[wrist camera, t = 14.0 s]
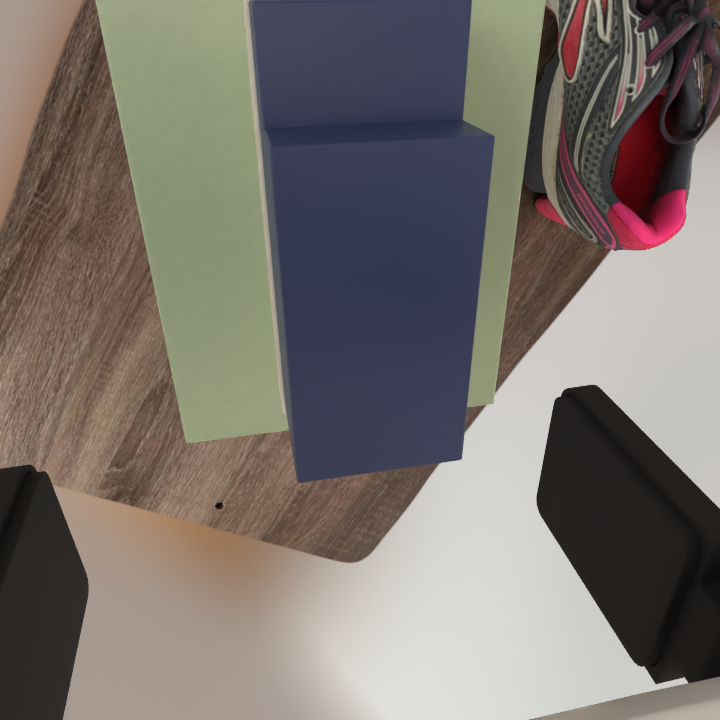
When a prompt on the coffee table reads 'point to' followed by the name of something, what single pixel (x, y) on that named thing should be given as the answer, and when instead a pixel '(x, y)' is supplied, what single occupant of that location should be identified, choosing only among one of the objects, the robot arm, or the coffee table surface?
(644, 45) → the running shoe
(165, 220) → the pale green boxy piece
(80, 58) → the coffee table surface
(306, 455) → the navy stepped block
